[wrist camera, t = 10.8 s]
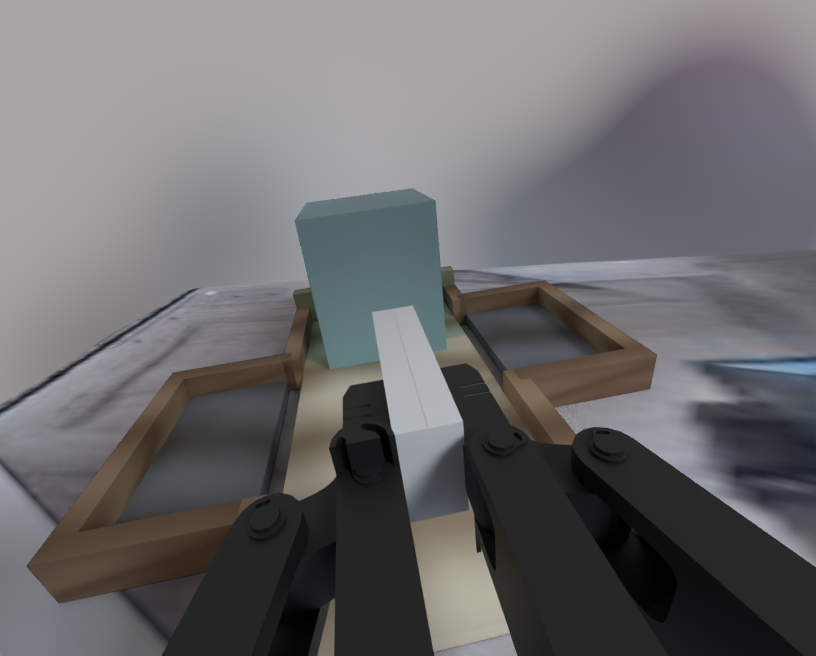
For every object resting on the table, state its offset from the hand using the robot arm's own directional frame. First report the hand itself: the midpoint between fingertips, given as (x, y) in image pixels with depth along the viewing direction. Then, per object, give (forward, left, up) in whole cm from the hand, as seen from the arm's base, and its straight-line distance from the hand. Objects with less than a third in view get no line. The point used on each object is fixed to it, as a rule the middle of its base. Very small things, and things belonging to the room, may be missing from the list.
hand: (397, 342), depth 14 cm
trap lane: (-4, -7, -9) cm, 12 cm away
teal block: (-8, -15, -8) cm, 19 cm away
